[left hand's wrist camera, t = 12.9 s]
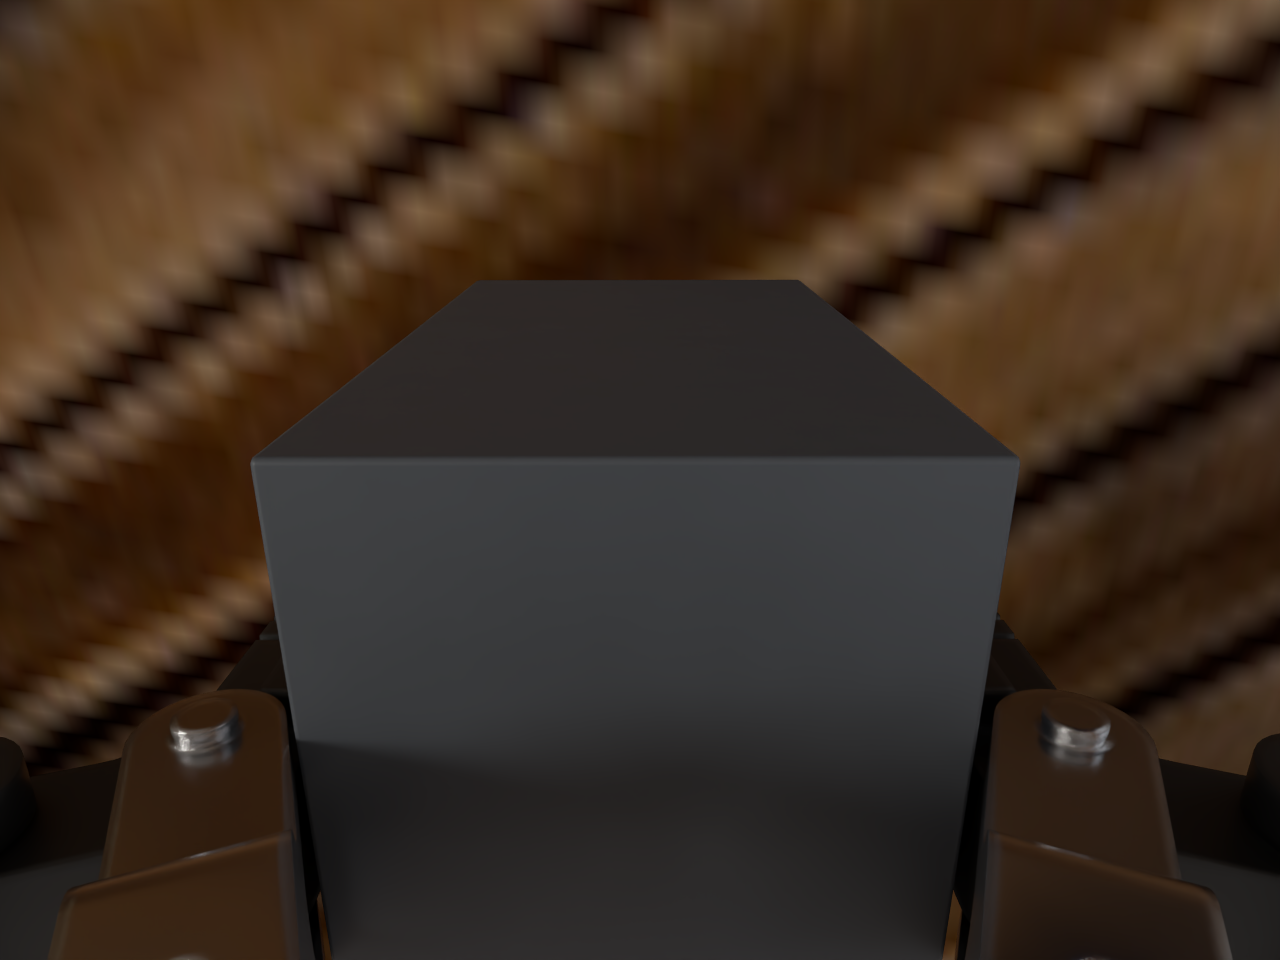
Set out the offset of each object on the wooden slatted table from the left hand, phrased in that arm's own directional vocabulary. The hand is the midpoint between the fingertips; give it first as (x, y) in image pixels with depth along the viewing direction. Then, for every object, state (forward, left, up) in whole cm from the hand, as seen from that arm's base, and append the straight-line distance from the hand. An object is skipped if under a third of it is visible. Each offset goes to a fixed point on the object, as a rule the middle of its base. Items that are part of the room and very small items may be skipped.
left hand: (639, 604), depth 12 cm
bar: (+8, -4, -5) cm, 10 cm away
